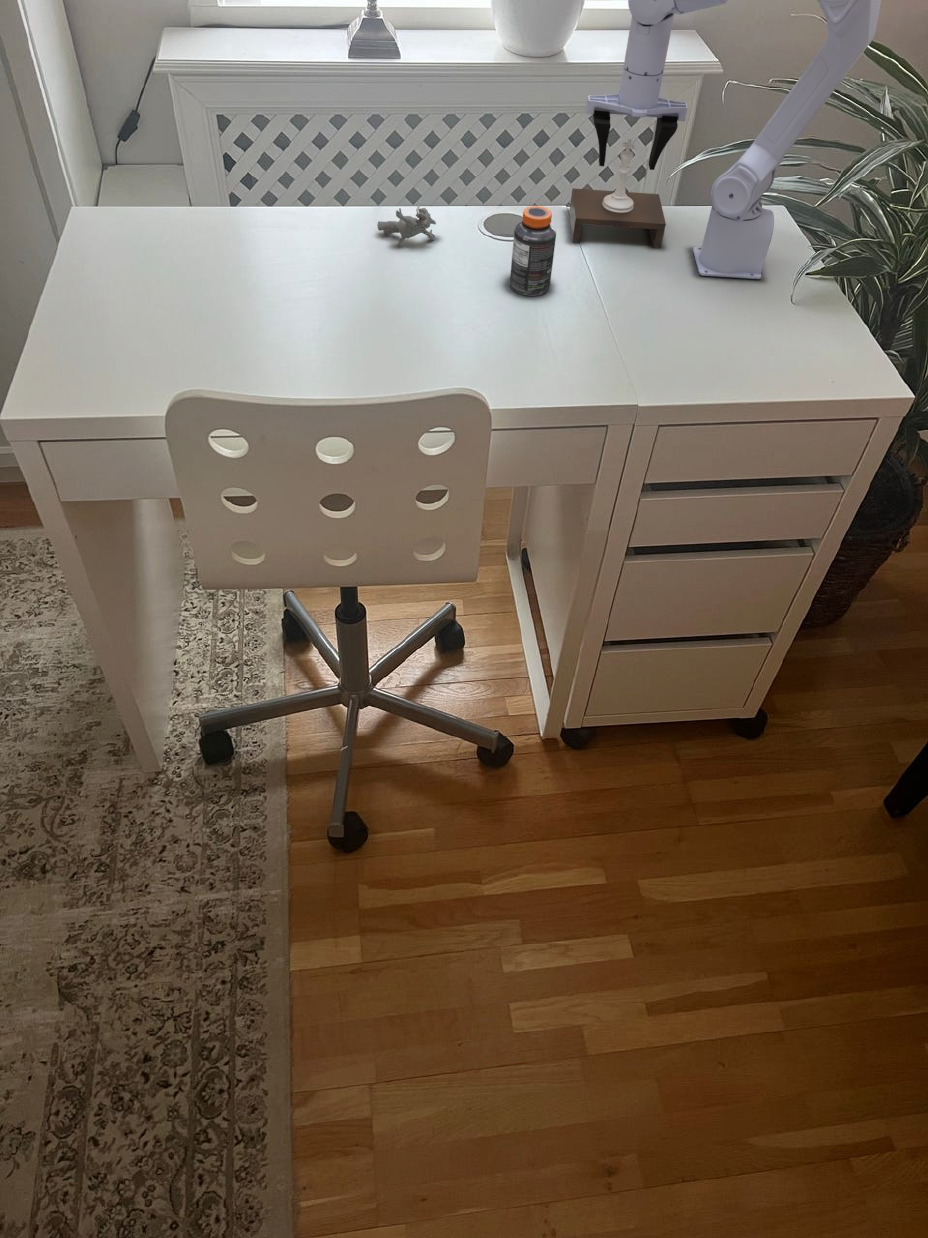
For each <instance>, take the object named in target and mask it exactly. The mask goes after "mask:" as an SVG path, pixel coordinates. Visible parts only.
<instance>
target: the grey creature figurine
mask: <svg viewBox="0 0 928 1238" xmlns="http://www.w3.org/2000/svg"><path fill="white" fill-rule="evenodd" d="M420 207H421V203H419V204H418V205H417V207H416V208H415V212H416V214H415V217H413V216H411V215H403V213H402V208H401V207H399V208H398V209H396V210H395V217H397V218H398V219H399V220H398V221H396V220H388V221H381V220H378V221H377V230H378V231H382V232H383V235H385V236H386V235H391V234H400V240H399V242H398V243H397V244H396V247H399V246H400V244H401V243H402V242H404V240H406V239H411V238H413V237H416V236H417V235H420V234H424V235H425V236H426V237H428V239H429V240H432V241H435V240H436V235H435V234H434V233H433V229H432V228H431V229H430V230H429V231H428V230H427V229H429V228H430V227H431V225H436V224H437V222H436V221H435V220H434V219H433V218H432V217H431V213H430V212H429V211H428V209H427V208H426V207H421V208H420Z"/></svg>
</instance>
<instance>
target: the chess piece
mask: <svg viewBox="0 0 928 1238" xmlns="http://www.w3.org/2000/svg"><path fill="white" fill-rule="evenodd" d="M622 147H624V148H625V149H624V150H622V151H621V152H620V153H619V154H620V155H619V156H620V163H621V165H619V166H617V172H619V177H618V180H617V184H616V187H615V190H614V191H615V192H614V193H613V194H610V195H607V196H606V197H604V199H603V202H602V205H603V207H604V208H606V209H607V210H609V211H612V212H617V213H625V212H629V211H631V210H632V209H633V207H634V206H633V205H634V202H633V200H632V199H631V198H630V197H628V196H627V195H626V194H625V192H626V190H627V189H626V187H627V175H628V174H630V173H631V172H632V167H630V166H629V165H630V164H631V162H632V160H633V158H634V156H635V154H634V152H633V151H631V150H634V149H635V144H632V139H630V138H628V139H627V142H623V143H622Z"/></svg>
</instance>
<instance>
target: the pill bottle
mask: <svg viewBox="0 0 928 1238" xmlns="http://www.w3.org/2000/svg"><path fill="white" fill-rule="evenodd" d="M552 216H553V215H552V211H551V210H550V209H549V208H547V207H545V206H540V205H530V206H527V207H525V208H524V209H523V211H522V218H521V221H519V222H518V223H517V224H516V226H515V227H514V232H513V243H512V253H511V254H512V255H511V263H510V264H511V265H510V276H509V285H510V288H511V289H512V290H513V291H515V292H516V293H518V294H521V295H524V296H529V297H530V296H540V295H543V294H545V293H547V292H548V291H549V289H550V288H551V279H552V274H553V273H552V271H553V265H554V256H555V247H556V239H557V231H556V228H555V226H554V225H553V224H552Z"/></svg>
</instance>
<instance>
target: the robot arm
mask: <svg viewBox="0 0 928 1238" xmlns="http://www.w3.org/2000/svg"><path fill="white" fill-rule="evenodd" d="M728 1H729V0H627V3H628V9H629V11H630V12H629V13H630V14H631V20H630V27H629V31H628V38H627V43H626V50H625V55H624V61H623V68H622V74H621V80H620V86H619V93H615V94H614V93H613V94H602V95H593V94H592V95H590V94H589V95H587V99H586V107H585V112H586V113H585V114H586V115H592V119H593V124H594V128H595V131H596V136H597V140H598V165H599V167H605V164H606V157H607V155H606V154H607V145H608V140H609V135H610V130H611V115H617V116H631V117H634V118H656V123H655V131H654V137H653V141H652V145H651V150H650V154H649V157H648V168H649V170H650V171H654V170H655V168H656V165H657V164H658V161H659V159H660V156H661V154H662V152H663V151H664V150H665V147H666V146H667V145H668V142H669V141H670V140H671V139H672V138H673V136H674V135H675V134H676V132H677V130H678V126H679V124H678V122H685V121H686V117H687V114H688V109H689V107H688V103H687V102H685V101H678V100H672V99H666V98H662V97H659V96H660V91H661V86H662V81H663V76H664V70H665V66H666V61H667V55H668V50H669V46H670V45H669V44H670V39H671V34H672V33H671V32H672V27H673V22H674V17H675V15H684V14H688V13H692V12H693V13H694V12H697V11H701V10H705V9H710V8H714V7H719V6H722V5H725V4H726V3H728ZM816 1H817V3H818V5H819V7H820V9H821V11H822V13H823V15H824V17H825V21H826V28H827V35H828V37H827V39H826V41H825V42H824V44H823V45H822V46H821V48H820V49H819V51H818V52H817V53H816V55H814V57H813V58H812V60H811V62H810V63H809V65H808V66H807V67H806V68H805V70H804V71H803V73H802V74H801V75H800V77H799V78H798V80H797V81H796V82H795V84H794V85H793V87H792V88H791V90H790V91H789V92H788V93H787V95H786V96H785V98H784V99H783V100H782V102H781V103H780V105H779V106H778V108H776V111H774V112H773V114H772V116H771V117H770V119H769V120H768V121H767V122H766V124H765V125H764V127H763V128H762V130H761V131H760V132H759V134H758V135H757V137H756V138H755V139H754V141H753V142H752V143H751V145H749V147H748V148H747V149H746V150H745V152H744V153H743V154H742V155H741V156H740V157H739V158H738V159H737V160H736V161H735V163H734V164H733V165H732V166H731V167H730V168H728V169H727V170H726V171H725V172H724V173H722V174H721V175H719V176H718V177H717V178H716V179H715V181H714V182H713V184H712V187H711V192H710V199H711V202H712V205H711V209H710V213H709V217H708V220H707V224H706V228H705V232H704V235H703V240H702V244H701V246H694V247H693V248H692V252H693V255H694V256H693V257H694V260H695V264H696V267H697V271H698V274H699V275H700V276H706V277H718V278H719V277H720V278H721V277H722V278H734V279H735V278H736V279H737V278H738V279H751V280H760V279H762V271H763V268H764V265H765V261H766V258H767V255H768V252H769V248H770V245H771V242H772V238H773V235H774V227H775V214H774V212H773V210H771V209H769V208H764V207H763V199H762V197H763V195H764V194H765V193H767V192H768V191H769V190H770V188H771V187H772V186H773V183H774V181H775V177H776V173H777V170H778V168H779V166H780V165H781V164H782V163H783V161H784V158H785V156H786V155H787V154H788V152H789V151H790V149H791V148H792V147H793V146H794V144H795V143H796V142H797V140H798V139H799V138H800V136H801V135H802V133H803V132H804V131H805V130H806V128H807V127H808V126H809V124H810V123H811V122H812V121H813V119H814V118H815V117H816V115H817V114H818V113H819V111H820V110H821V109H822V108H823V106H824V105H825V103H826V102H827V101H828V99H829V98H830V97H831V95H832V94H833V93H834V91H835V90H836V89H837V88H838V86H839V85H840V83H841V82H842V81H843V80H844V79H845V77H846V76H847V74H848V73H849V72H850V70H851V69H852V68H853V67H854V65H855V64H856V62H857V61H858V60H859V58H860V57H861V56H862V55H863V54H864V52H865V51H866V49H867V48H868V47H869V46H870V44H871V43H872V41H873V40H874V37H875V36H876V32H877V27H878V21H879V16H880V10H881V5H882V0H816Z"/></svg>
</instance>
